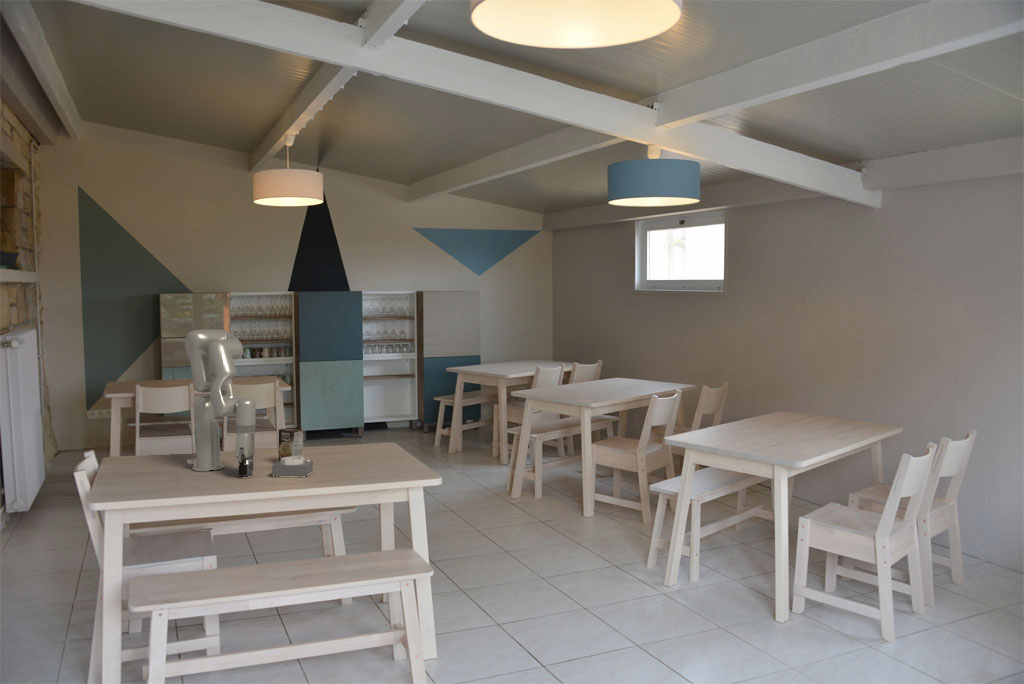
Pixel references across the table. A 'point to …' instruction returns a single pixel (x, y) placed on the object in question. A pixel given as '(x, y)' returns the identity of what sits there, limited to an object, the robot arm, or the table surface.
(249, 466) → the lens
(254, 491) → the table surface
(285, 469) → the camera body
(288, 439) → the coffee box
